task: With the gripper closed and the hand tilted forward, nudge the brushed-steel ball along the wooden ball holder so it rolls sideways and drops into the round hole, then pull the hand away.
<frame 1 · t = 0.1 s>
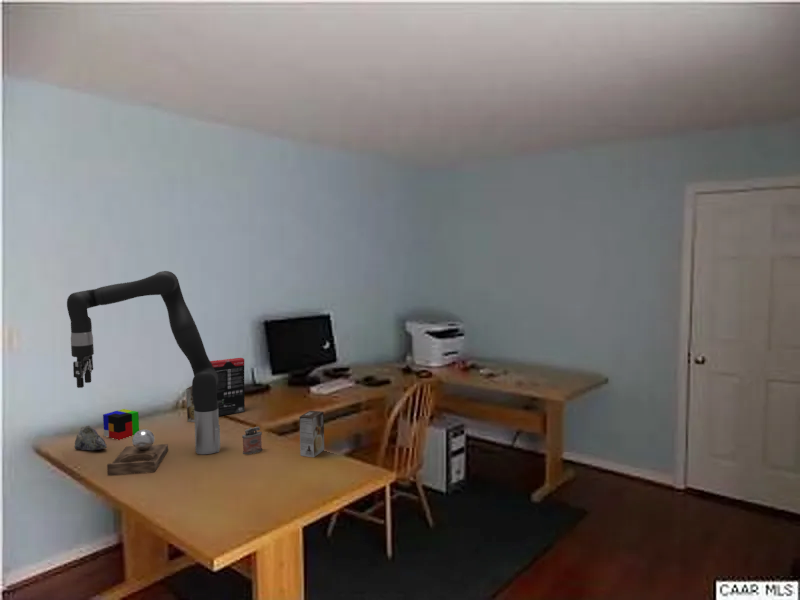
hand: (84, 384, 225), 29 cm above the table, tool pointing down, fingers open, 8 cm apart
coffee box 2: (312, 453, 233), on the table
wooden ball holder: (139, 461, 224), on the table
steel ball: (143, 439, 230), point 6 cm above the table, touching wooden ball holder
mineral rock: (90, 450, 237), on the table
coffee box: (199, 420, 278), on the table
graphics card box: (227, 414, 289), on the table
lighter: (252, 452, 234), on the table
puzzle toy: (121, 435, 256), on the table
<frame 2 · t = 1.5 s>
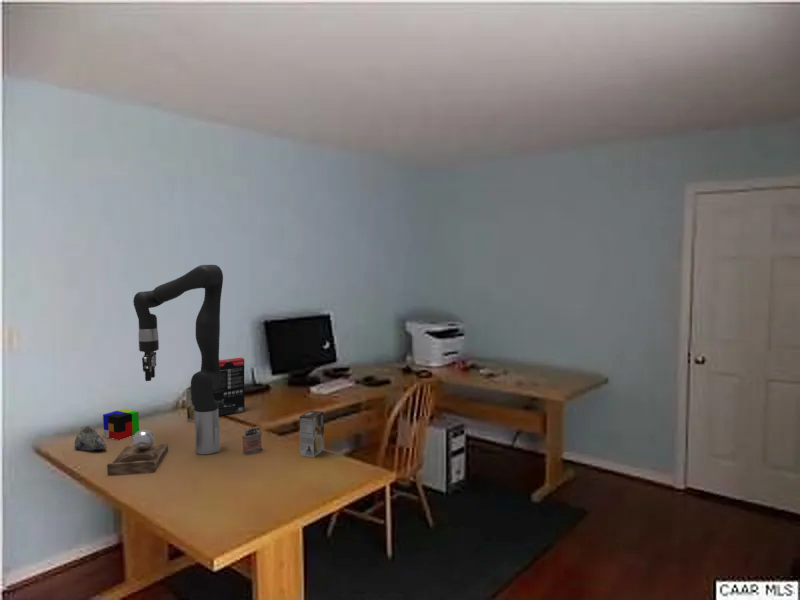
hand: (150, 378, 243), 28 cm above the table, tool pointing down, fingers open, 6 cm apart
nothing on the table moved.
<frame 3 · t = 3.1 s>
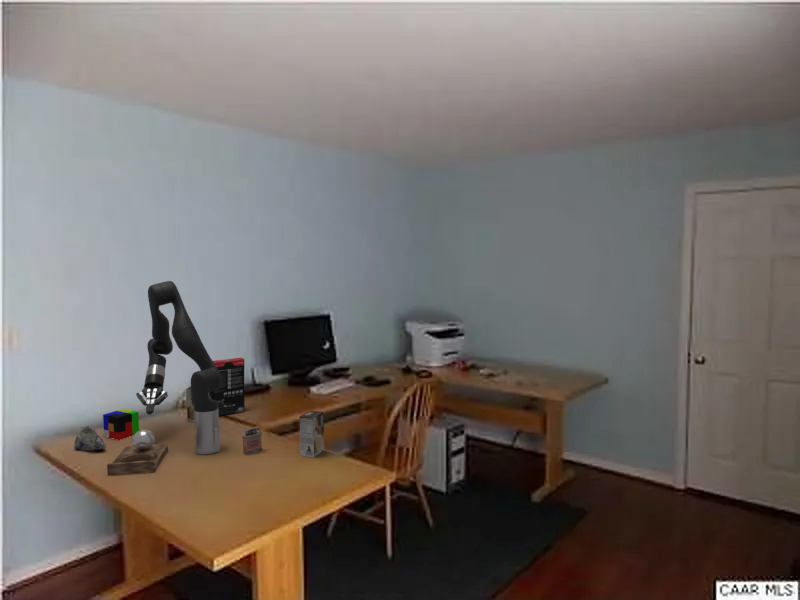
hand: (149, 413, 241), 14 cm above the table, tool tilted 45°, fingers closed
nothing on the table moved.
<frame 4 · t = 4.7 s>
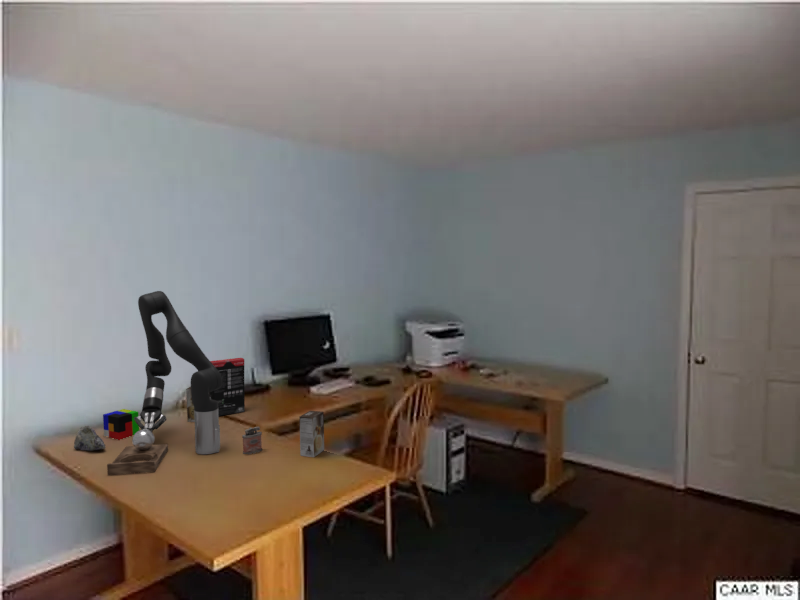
hand: (147, 438, 236), 5 cm above the table, tool tilted 45°, fingers closed
nothing on the table moved.
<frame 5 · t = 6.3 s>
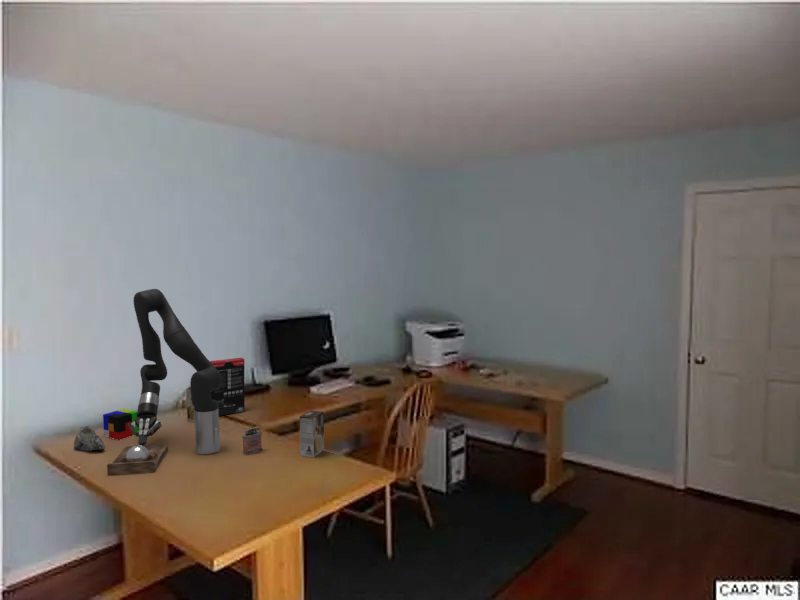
hand: (141, 445, 227), 5 cm above the table, tool tilted 45°, fingers closed
steel ball: (137, 456, 219), point 4 cm above the table, tilted 160°
everything else where it was.
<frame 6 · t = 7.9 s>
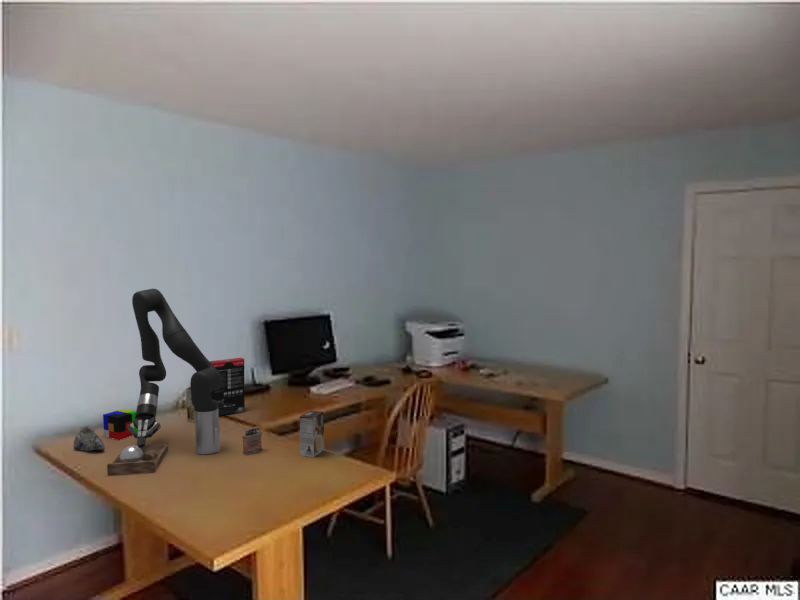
hand: (140, 446, 226), 5 cm above the table, tool tilted 45°, fingers closed
steel ball: (131, 456, 219), point 4 cm above the table, tilted 170°
everything else where it was.
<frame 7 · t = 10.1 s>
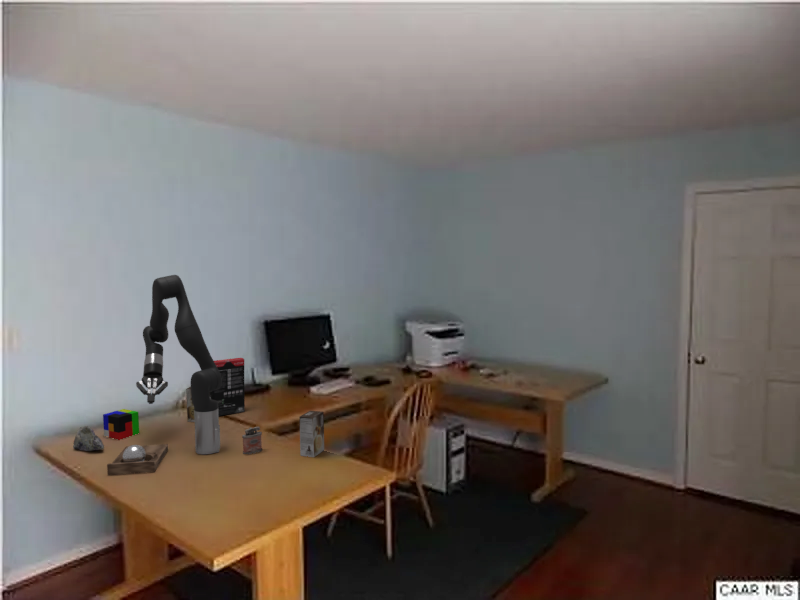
hand: (150, 403, 240), 18 cm above the table, tool tilted 40°, fingers closed
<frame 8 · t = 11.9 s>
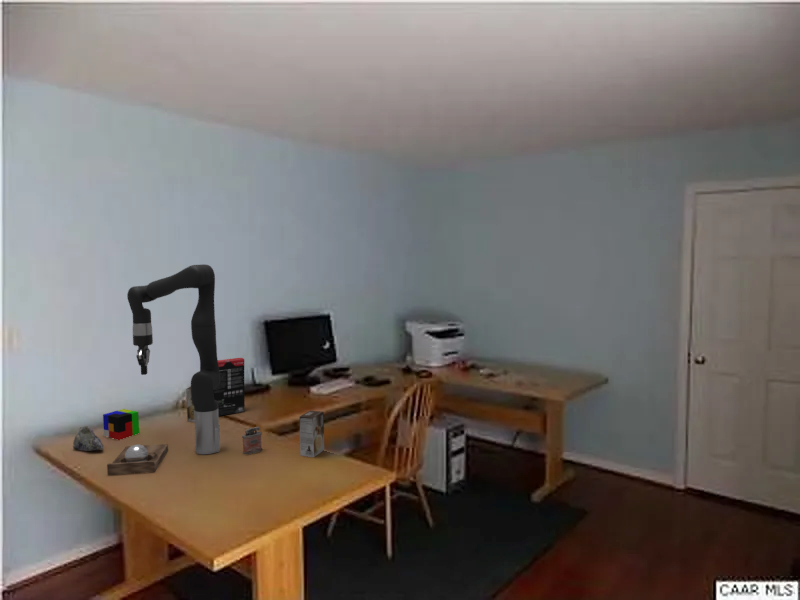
hand: (144, 374, 245), 29 cm above the table, tool pointing down, fingers closed
steel ball: (136, 455, 220), point 4 cm above the table, tilted 164°
everything else where it was.
at the end: steel ball 0.2 cm from the target spot on the wooden ball holder, point 4.0 cm above the wooden ball holder's base; the gripper is holding nothing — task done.
